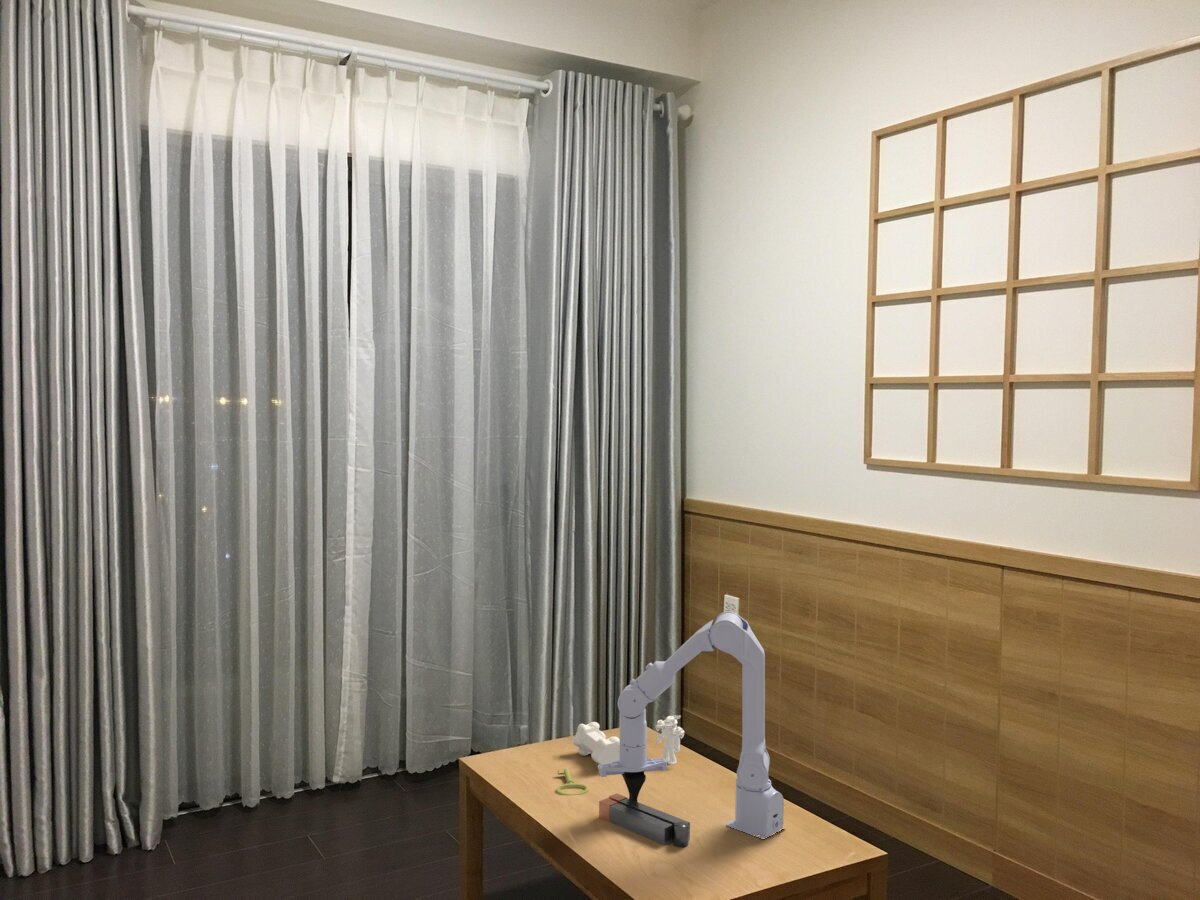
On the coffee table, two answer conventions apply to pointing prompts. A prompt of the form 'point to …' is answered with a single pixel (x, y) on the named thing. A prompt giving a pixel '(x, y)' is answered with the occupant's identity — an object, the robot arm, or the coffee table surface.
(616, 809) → the tongs fixed arm
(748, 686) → the robot arm
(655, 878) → the coffee table surface
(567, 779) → the key
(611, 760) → the bone shaped toy
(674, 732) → the flower shoulder figurine
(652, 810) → the bar
